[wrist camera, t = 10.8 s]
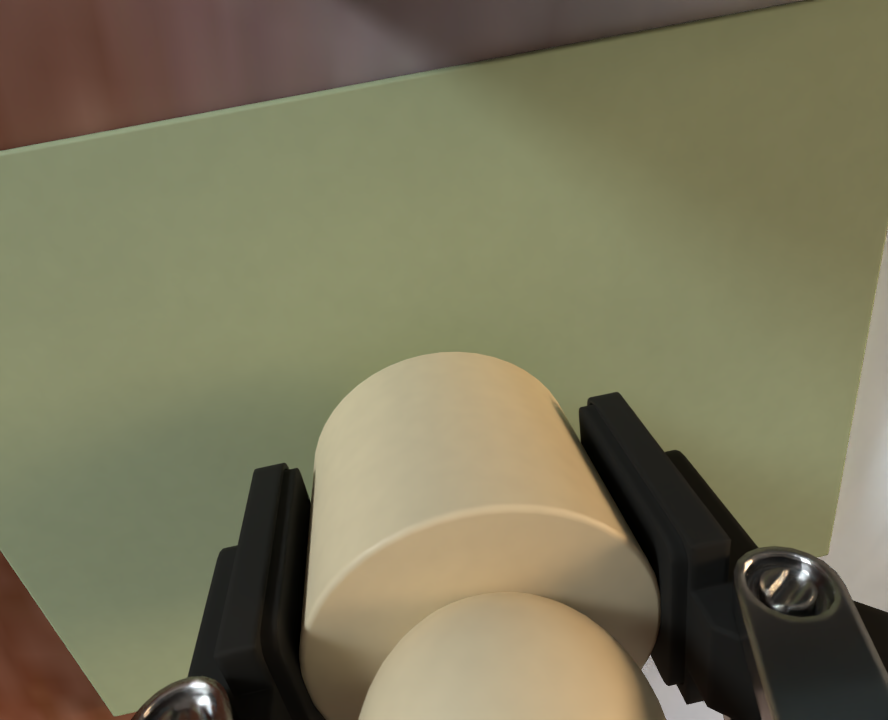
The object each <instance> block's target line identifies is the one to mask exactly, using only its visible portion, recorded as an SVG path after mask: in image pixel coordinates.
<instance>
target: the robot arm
mask: <svg viewBox="0 0 888 720" xmlns="http://www.w3.org/2000/svg"><path fill="white" fill-rule="evenodd" d="M579 424H580V438H581V444H582V445H583V447H584V449H585V451H586V452H587V454H588V456H589V458H590V459H591V461H592V463H593V465H594V466H595V468H596V470H597V472H598V473H599V475H600V477H601V479H602V480H603V482H604V484H605V486H606V487H607V489H608V491H609V493H610V494H611V496H612V498H613V500H614V501H615V503H616V505H617V507H618V508H619V510H620V512H621V514H622V515H623V517H624V519H625V521H626V522H627V524H628V526H629V528H630V529H631V531H632V533H633V535H634V536H635V538H636V540H637V542H638V543H639V545H640V547H641V549H642V550H643V552H644V554H645V556H646V557H647V559H648V561H649V563H650V565H651V567H652V569H653V571H654V573H655V575H656V578H657V582H658V585H659V590H660V598H661V618H660V628H659V632H658V635H657V639H656V643H655V645H654V647H653V649H652V651H651V657H652V659H653V661H654V663H655V665H656V667H657V669H658V671H659V673H660V675H661V677H662V679H663V681H664V682H665V684H666V685H668V686H671V685H675V684H677V686H678V688H679V690H680V692H681V694H682V696H683V698H684V700H685V702H686V704H692V703H696V702H700V701H705V703H706V705H707V707H709V708H711V709H713V710H715V711H717V712H719V713H721V714H723V717H724V720H888V612H885V611H882V610H879V609H876V608H873V607H870V606H867V605H865V604H862V603H859V602H856V601H853V600H852V598H851V596H850V594H849V591H848V589H847V587H846V585H845V584H844V582H843V581H842V579H841V578H840V576H839V575H838V573H837V572H836V571H835V570H833V569H832V568H831V567H830V566H829V565H828V564H826V563H825V562H824V561H822V560H820V559H818V558H817V557H815V556H813V555H811V554H809V553H807V552H803V551H800V550H797V549H794V548H789V547H780V546H769V547H759V548H758V546H757V545H756V544H755V543H754V541H753V540H752V539H751V538H750V536H749V535H748V534H747V533H746V531H745V530H744V529H743V528H742V526H741V525H740V524H739V523H738V521H737V520H736V519H735V518H734V516H733V515H732V514H731V513H730V511H729V510H728V509H727V508H726V506H725V505H724V504H723V503H722V501H721V500H720V499H719V498H718V496H717V495H716V494H715V493H714V491H713V490H712V489H711V488H710V486H709V485H708V484H707V483H706V481H705V480H704V479H703V478H702V476H701V475H700V474H699V473H698V471H697V470H696V469H695V468H694V466H693V465H692V464H691V463H690V461H689V460H688V459H687V458H686V456H685V455H684V454H683V453H682V452H680V451H678V450H671V451H667V452H664V451H663V449H662V448H661V447H660V445H659V444H658V443H657V441H656V440H655V439H654V437H653V436H652V435H651V434H650V432H649V431H648V430H647V428H646V427H645V426H644V424H643V423H642V422H641V420H640V419H639V418H638V416H637V415H636V414H635V412H634V411H633V410H632V408H631V407H630V406H629V405H628V403H627V402H626V401H625V399H624V398H623V397H622V395H621V394H620V393H619V392H613V393H608V394H604V395H599V396H594V397H589V398H588V401H587V406H584V407H580V408H579ZM310 508H311V501H310V498H309V495H308V493H307V490H306V487H305V484H304V481H303V478H302V475H301V472H300V470H299V469H298V468H294V469H289V467H288V465H287V464H286V463H280V464H275V465H271V466H266V467H261V468H257V469H255V470H254V472H253V476H252V481H251V485H250V490H249V495H248V499H247V504H246V508H245V513H244V518H243V522H242V527H241V531H240V536H239V541H238V545H236V546H232V547H227V548H223V549H222V550H221V551H220V552H219V555H218V558H217V561H216V565H215V569H214V573H213V577H212V581H211V585H210V589H209V593H208V597H207V601H206V605H205V609H204V613H203V617H202V621H201V625H200V629H199V633H198V637H197V641H196V645H195V649H194V653H193V657H192V661H191V665H190V669H189V673H188V677H187V678H184V679H181V680H178V681H175V682H173V683H171V684H169V685H167V686H166V687H164V688H163V689H161V690H159V691H158V692H156V693H155V694H154V695H153V696H152V697H151V698H149V699H148V700H147V701H146V702H145V703H144V704H143V705H142V706H141V707H140V709H139V710H138V711H137V712H136V714H135V715H134V716H133V718H132V719H131V720H326V719H325V718H324V717H323V716H322V714H321V713H320V712H319V711H318V709H317V708H316V707H315V705H314V704H313V702H312V699H311V697H310V695H309V693H308V690H307V688H306V685H305V683H304V680H303V677H302V674H301V669H300V663H299V645H300V633H301V620H302V608H303V595H304V583H305V570H306V558H307V545H308V533H309V520H310Z"/></svg>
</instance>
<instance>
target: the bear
mask: <svg viewBox="0 0 888 720" xmlns="http://www.w3.org/2000/svg"><path fill="white" fill-rule="evenodd" d="M660 618H661V598H660V590H659V585H658V582H657V578H656V575H655V573H654V571H653V569H652V567H651V565H650V563H649V561H648V559H647V557H646V556H645V554H644V552H643V550H642V549H641V547H640V545H639V543H638V542H637V540H636V538H635V536H634V535H633V533H632V531H631V529H630V528H629V526H628V524H627V522H626V521H625V519H624V517H623V515H622V514H621V512H620V510H619V508H618V507H617V505H616V503H615V501H614V500H613V498H612V496H611V494H610V493H609V491H608V489H607V487H606V486H605V484H604V482H603V480H602V479H601V477H600V475H599V473H598V472H597V470H596V468H595V466H594V465H593V463H592V461H591V459H590V458H589V456H588V454H587V452H586V451H585V449H584V447H583V445H582V444H581V442H580V440H579V438H578V437H577V435H576V433H575V431H574V430H573V428H572V426H571V424H570V423H569V421H568V419H567V417H566V416H565V414H564V412H563V410H562V409H561V407H560V405H559V403H558V402H557V400H556V399H555V398H554V396H553V395H552V394H551V392H550V391H549V390H548V389H547V388H546V387H545V386H544V385H543V384H542V383H541V382H540V381H539V380H538V379H536V378H535V377H534V376H532V375H531V374H529V373H528V372H527V371H525V370H523V369H521V368H519V367H517V366H516V365H514V364H512V363H509V362H507V361H504V360H501V359H498V358H495V357H491V356H487V355H482V354H478V353H468V352H439V353H432V354H425V355H420V356H417V357H413V358H409V359H406V360H403V361H400V362H398V363H395V364H393V365H390V366H388V367H386V368H384V369H382V370H380V371H379V372H377V373H375V374H373V375H371V376H370V377H369V378H367V379H366V380H364V381H363V382H362V383H360V384H359V385H358V386H356V387H355V388H354V389H353V390H352V391H351V392H350V393H349V394H348V395H347V396H346V397H344V399H343V400H342V401H341V402H340V403H339V405H338V406H337V407H336V408H335V409H334V411H333V412H332V414H331V415H330V417H329V419H328V420H327V422H326V424H325V425H324V428H323V430H322V432H321V435H320V437H319V440H318V444H317V448H316V451H315V459H314V470H313V483H312V495H311V508H310V520H309V533H308V545H307V558H306V570H305V583H304V595H303V608H302V620H301V633H300V645H299V663H300V669H301V674H302V677H303V680H304V683H305V685H306V688H307V690H308V693H309V695H310V697H311V699H312V702H313V704H314V705H315V707H316V708H317V709H318V711H319V712H320V713H321V714H322V716H323V717H324V718H325V719H326V720H666V718H665V716H664V713H663V710H662V708H661V705H660V703H659V700H658V698H657V697H656V695H655V693H654V691H653V689H652V687H651V686H650V684H649V682H648V680H647V679H646V677H645V675H644V674H643V672H642V671H641V669H642V668H643V666H644V664H645V663H646V661H647V660H648V658H649V656H650V654H651V651H652V649H653V647H654V645H655V643H656V639H657V635H658V632H659V628H660Z"/></svg>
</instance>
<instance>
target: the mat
mask: <svg viewBox="0 0 888 720" xmlns="http://www.w3.org/2000/svg"><path fill="white" fill-rule="evenodd" d="M887 227H888V0H804V1H799V2H793V3H788V4H783V5H777V6H772V7H767V8H761V9H756V10H751V11H745V12H740V13H735V14H729V15H724V16H719V17H713V18H708V19H703V20H697V21H692V22H687V23H681V24H676V25H671V26H665V27H660V28H654V29H649V30H644V31H638V32H633V33H628V34H622V35H617V36H612V37H606V38H601V39H596V40H590V41H585V42H580V43H574V44H569V45H564V46H558V47H553V48H548V49H542V50H537V51H532V52H526V53H521V54H516V55H510V56H505V57H500V58H494V59H489V60H484V61H478V62H473V63H468V64H462V65H457V66H452V67H446V68H441V69H436V70H430V71H425V72H420V73H414V74H409V75H404V76H398V77H393V78H387V79H382V80H377V81H371V82H366V83H361V84H355V85H350V86H345V87H339V88H334V89H329V90H323V91H318V92H313V93H307V94H302V95H297V96H291V97H286V98H281V99H275V100H270V101H265V102H259V103H254V104H249V105H243V106H238V107H233V108H227V109H222V110H217V111H211V112H206V113H201V114H195V115H190V116H185V117H179V118H174V119H169V120H163V121H158V122H153V123H147V124H142V125H137V126H131V127H126V128H120V129H115V130H110V131H104V132H99V133H94V134H88V135H83V136H78V137H72V138H67V139H62V140H56V141H51V142H46V143H40V144H35V145H30V146H24V147H19V148H14V149H8V150H3V151H0V550H1V552H2V553H3V555H4V556H5V558H6V559H7V561H8V562H9V563H10V565H11V566H12V568H13V569H14V571H15V572H16V574H17V575H18V577H19V578H20V580H21V581H22V583H23V584H24V585H25V587H26V588H27V590H28V591H29V593H30V594H31V596H32V597H33V599H34V600H35V602H36V603H37V604H38V606H39V607H40V609H41V610H42V612H43V613H44V615H45V616H46V618H47V619H48V621H49V622H50V623H51V625H52V626H53V628H54V629H55V631H56V632H57V634H58V635H59V637H60V638H61V640H62V641H63V643H64V644H65V645H66V647H67V648H68V650H69V651H70V653H71V654H72V656H73V657H74V659H75V660H76V662H77V663H78V664H79V666H80V667H81V669H82V670H83V672H84V673H85V675H86V676H87V678H88V679H89V681H90V682H91V683H92V685H93V686H94V688H95V689H96V691H97V692H98V694H99V695H100V697H101V698H102V700H103V701H104V703H105V704H106V705H107V707H108V708H109V710H110V711H111V713H112V714H113V716H120V715H124V714H128V713H133V712H137V711H138V710H139V709H140V707H141V706H142V705H143V704H144V703H145V702H146V701H147V700H148V699H149V698H151V697H152V696H153V695H154V694H155V693H156V692H158V691H159V690H161V689H163V688H164V687H166V686H167V685H169V684H171V683H173V682H175V681H178V680H181V679H184V678H187V677H188V673H189V669H190V665H191V661H192V657H193V653H194V649H195V645H196V641H197V637H198V633H199V629H200V625H201V621H202V617H203V613H204V609H205V605H206V601H207V597H208V593H209V589H210V585H211V581H212V577H213V573H214V569H215V565H216V561H217V558H218V555H219V552H220V551H221V550H222V549H223V548H227V547H232V546H236V545H238V541H239V536H240V531H241V527H242V522H243V518H244V513H245V508H246V504H247V499H248V495H249V490H250V485H251V481H252V476H253V472H254V470H255V469H257V468H261V467H266V466H271V465H275V464H280V463H286V464H287V465H288V467H289V469H294V468H298V469H299V470H300V472H301V475H302V478H303V481H304V484H305V487H306V490H307V493H308V495H309V498H310V501H311V495H312V483H313V470H314V459H315V451H316V448H317V444H318V440H319V437H320V435H321V432H322V430H323V428H324V425H325V424H326V422H327V420H328V419H329V417H330V415H331V414H332V412H333V411H334V409H335V408H336V407H337V406H338V405H339V403H340V402H341V401H342V400H343V399H344V397H346V396H347V395H348V394H349V393H350V392H351V391H352V390H353V389H354V388H355V387H356V386H358V385H359V384H360V383H362V382H363V381H364V380H366V379H367V378H369V377H370V376H371V375H373V374H375V373H377V372H379V371H380V370H382V369H384V368H386V367H388V366H390V365H393V364H395V363H398V362H400V361H403V360H406V359H409V358H413V357H417V356H420V355H425V354H432V353H439V352H468V353H478V354H482V355H487V356H491V357H495V358H498V359H501V360H504V361H507V362H509V363H512V364H514V365H516V366H517V367H519V368H521V369H523V370H525V371H527V372H528V373H529V374H531V375H532V376H534V377H535V378H536V379H538V380H539V381H540V382H541V383H542V384H543V385H544V386H545V387H546V388H547V389H548V390H549V391H550V392H551V394H552V395H553V396H554V398H555V399H556V400H557V402H558V403H559V405H560V407H561V409H562V410H563V412H564V414H565V416H566V417H567V419H568V421H569V423H570V424H571V426H572V428H573V430H574V431H575V433H576V435H577V437H578V438H579V440H580V442H581V438H580V424H579V408H580V407H584V406H587V401H588V398H589V397H594V396H599V395H604V394H608V393H613V392H619V393H620V394H621V395H622V397H623V398H624V399H625V401H626V402H627V403H628V405H629V406H630V407H631V408H632V410H633V411H634V412H635V414H636V415H637V416H638V418H639V419H640V420H641V422H642V423H643V424H644V426H645V427H646V428H647V430H648V431H649V432H650V434H651V435H652V436H653V437H654V439H655V440H656V441H657V443H658V444H659V445H660V447H661V448H662V449H663V451H664V452H667V451H671V450H678V451H680V452H682V453H683V454H684V455H685V456H686V458H687V459H688V460H689V461H690V463H691V464H692V465H693V466H694V468H695V469H696V470H697V471H698V473H699V474H700V475H701V476H702V478H703V479H704V480H705V481H706V483H707V484H708V485H709V486H710V488H711V489H712V490H713V491H714V493H715V494H716V495H717V496H718V498H719V499H720V500H721V501H722V503H723V504H724V505H725V506H726V508H727V509H728V510H729V511H730V513H731V514H732V515H733V516H734V518H735V519H736V520H737V521H738V523H739V524H740V525H741V526H742V528H743V529H744V530H745V531H746V533H747V534H748V535H749V536H750V538H751V539H752V540H753V541H754V543H755V544H756V545H757V546H758V548H759V547H769V546H780V547H789V548H794V549H797V550H800V551H803V552H807V553H809V554H811V555H813V556H815V557H821V556H825V555H828V552H829V547H830V541H831V536H832V530H833V525H834V519H835V514H836V508H837V503H838V497H839V492H840V486H841V481H842V475H843V470H844V464H845V459H846V453H847V448H848V442H849V437H850V431H851V426H852V420H853V415H854V409H855V404H856V398H857V393H858V387H859V382H860V376H861V371H862V365H863V360H864V354H865V349H866V343H867V338H868V332H869V327H870V321H871V315H872V310H873V304H874V299H875V293H876V288H877V282H878V277H879V271H880V266H881V260H882V255H883V249H884V244H885V238H886V233H887Z"/></svg>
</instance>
